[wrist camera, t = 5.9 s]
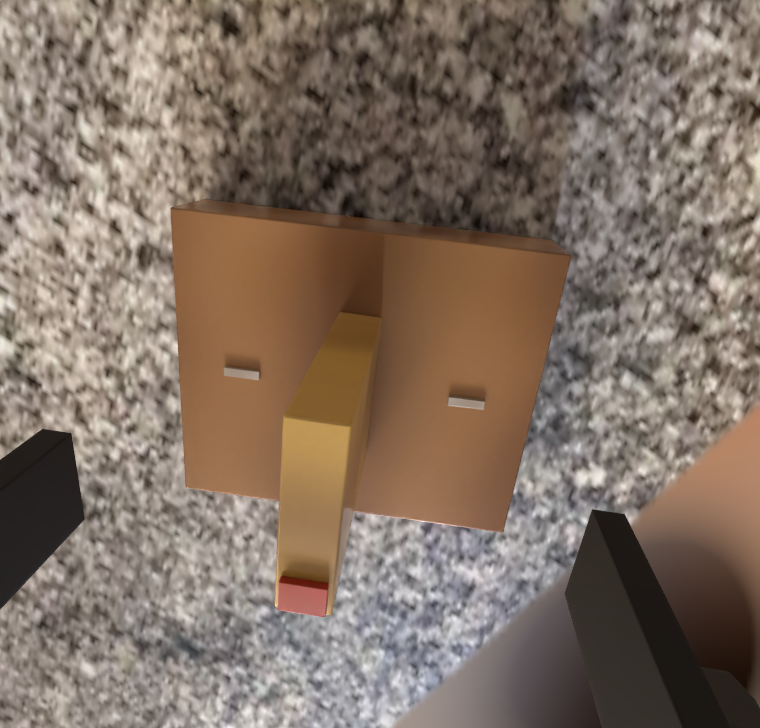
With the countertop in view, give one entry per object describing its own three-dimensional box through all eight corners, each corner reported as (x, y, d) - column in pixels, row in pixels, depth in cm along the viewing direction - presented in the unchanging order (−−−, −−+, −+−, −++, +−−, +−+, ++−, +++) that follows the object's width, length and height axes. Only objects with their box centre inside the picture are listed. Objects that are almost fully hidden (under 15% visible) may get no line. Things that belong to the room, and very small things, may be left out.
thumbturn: (339, 311, 19) (279, 420, 12) (382, 316, 19) (350, 430, 12) (327, 449, 22) (271, 614, 14) (365, 455, 22) (330, 624, 14)
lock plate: (553, 240, 21) (573, 255, 18) (495, 490, 25) (503, 536, 22) (203, 198, 21) (167, 207, 18) (211, 451, 26) (183, 490, 23)
